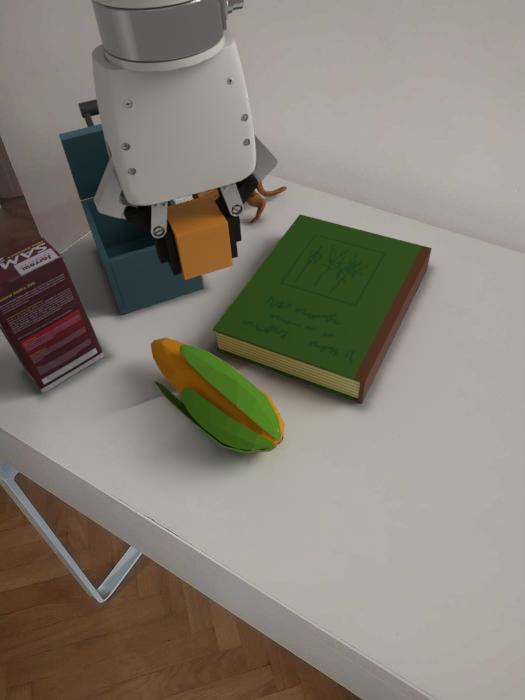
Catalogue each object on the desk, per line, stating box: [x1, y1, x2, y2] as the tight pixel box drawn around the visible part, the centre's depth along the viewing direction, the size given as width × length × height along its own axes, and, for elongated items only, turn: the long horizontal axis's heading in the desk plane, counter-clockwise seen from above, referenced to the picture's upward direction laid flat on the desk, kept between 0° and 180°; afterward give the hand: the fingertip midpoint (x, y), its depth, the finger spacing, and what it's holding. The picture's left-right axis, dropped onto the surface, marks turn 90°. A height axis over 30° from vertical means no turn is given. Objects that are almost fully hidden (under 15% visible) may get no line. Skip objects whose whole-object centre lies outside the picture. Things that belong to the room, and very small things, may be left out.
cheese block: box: [167, 195, 234, 280], centre depth 47 cm, size 4×4×4 cm
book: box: [211, 214, 433, 404], centre depth 72 cm, size 25×19×4 cm
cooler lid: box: [58, 98, 109, 201], centre depth 71 cm, size 15×11×5 cm
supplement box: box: [0, 236, 105, 394], centre depth 63 cm, size 9×5×16 cm, turn 130°
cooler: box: [80, 190, 204, 316], centre depth 77 cm, size 14×11×9 cm
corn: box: [150, 337, 286, 454], centre depth 61 cm, size 7×8×20 cm
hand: (200, 254), depth 48 cm, fingers closed on cheese block, 4 cm apart
